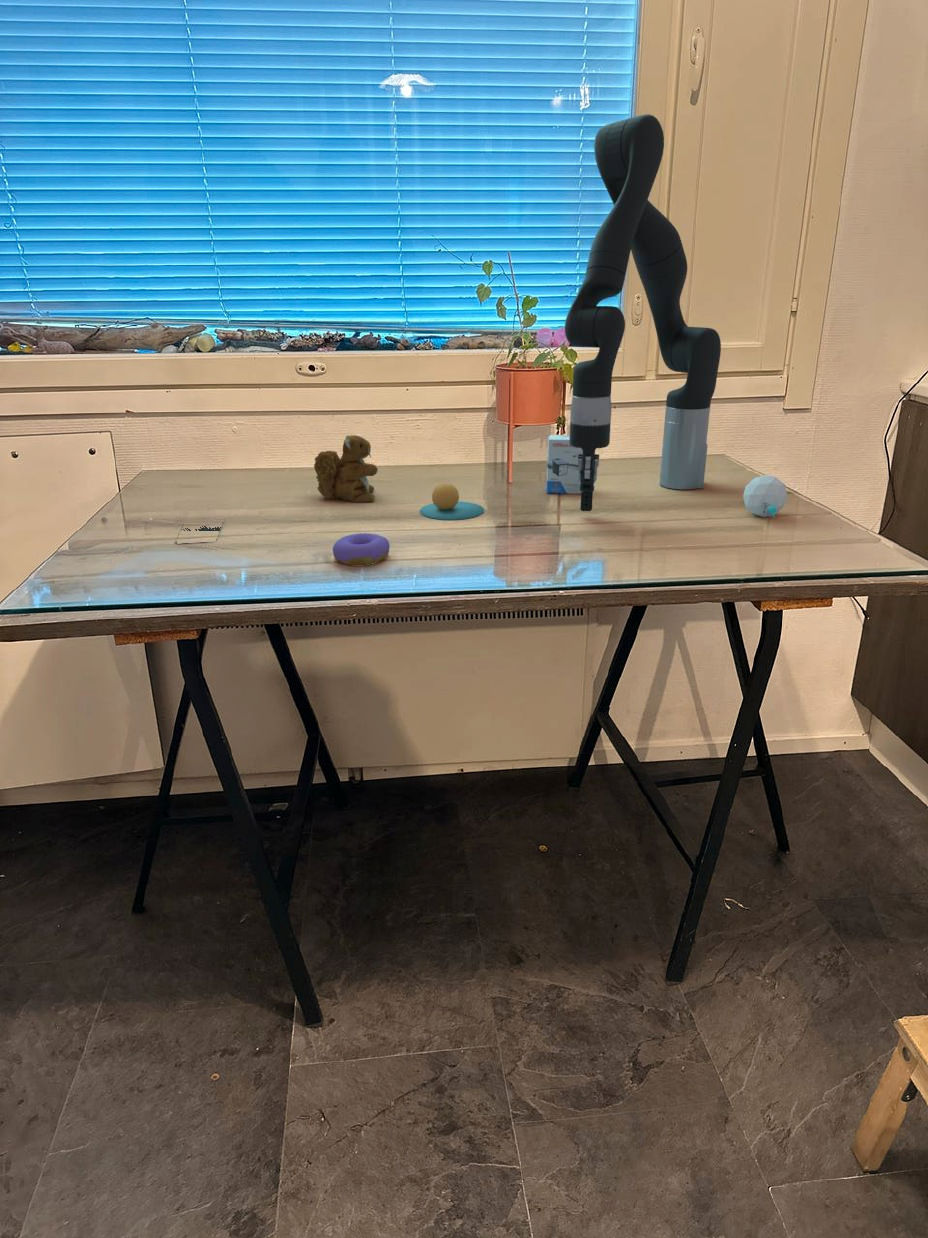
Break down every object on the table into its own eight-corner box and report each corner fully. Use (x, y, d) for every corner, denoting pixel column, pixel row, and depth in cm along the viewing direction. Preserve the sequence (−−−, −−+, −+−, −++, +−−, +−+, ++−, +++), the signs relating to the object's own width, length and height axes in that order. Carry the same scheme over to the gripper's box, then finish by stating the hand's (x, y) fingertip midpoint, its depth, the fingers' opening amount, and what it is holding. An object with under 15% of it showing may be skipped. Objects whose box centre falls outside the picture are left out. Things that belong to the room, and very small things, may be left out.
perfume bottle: (789, 491, 161) (804, 516, 150) (751, 514, 164) (763, 539, 154) (770, 461, 158) (784, 483, 148) (732, 484, 161) (743, 507, 151)
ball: (437, 505, 169) (462, 506, 167) (429, 513, 164) (455, 514, 162) (435, 479, 166) (461, 479, 165) (427, 486, 162) (453, 487, 160)
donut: (362, 544, 145) (364, 519, 143) (399, 564, 141) (402, 539, 138) (319, 558, 138) (321, 533, 136) (357, 581, 134) (360, 554, 131)
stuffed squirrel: (377, 502, 172) (373, 440, 166) (310, 503, 172) (304, 441, 167) (382, 490, 181) (378, 431, 175) (318, 491, 181) (313, 431, 176)
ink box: (546, 493, 176) (547, 439, 171) (546, 488, 181) (547, 434, 176) (586, 494, 175) (588, 439, 171) (585, 488, 180) (587, 434, 175)
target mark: (488, 503, 170) (488, 502, 170) (478, 521, 158) (478, 520, 158) (427, 501, 172) (427, 500, 172) (413, 518, 160) (413, 517, 160)
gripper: (610, 426, 145) (605, 520, 152) (611, 414, 157) (606, 501, 164) (568, 426, 146) (564, 519, 153) (571, 413, 158) (568, 500, 165)
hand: (586, 509), depth 159 cm, fingers closed
